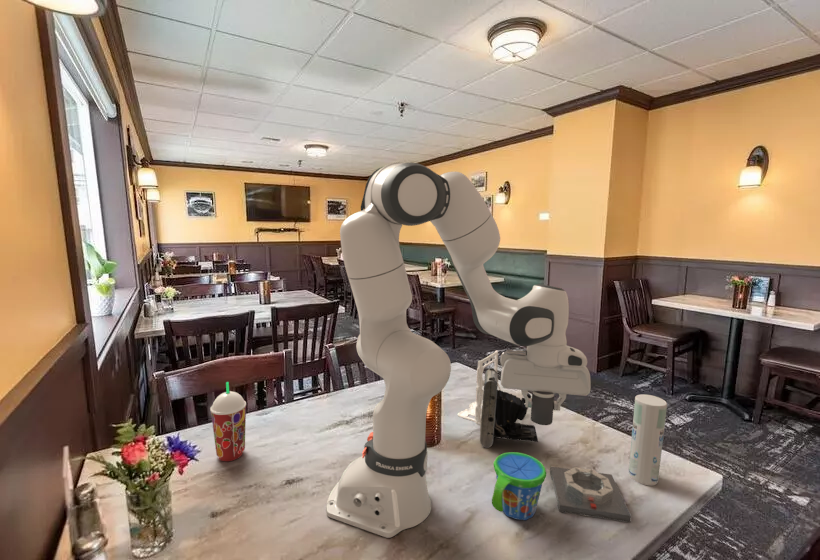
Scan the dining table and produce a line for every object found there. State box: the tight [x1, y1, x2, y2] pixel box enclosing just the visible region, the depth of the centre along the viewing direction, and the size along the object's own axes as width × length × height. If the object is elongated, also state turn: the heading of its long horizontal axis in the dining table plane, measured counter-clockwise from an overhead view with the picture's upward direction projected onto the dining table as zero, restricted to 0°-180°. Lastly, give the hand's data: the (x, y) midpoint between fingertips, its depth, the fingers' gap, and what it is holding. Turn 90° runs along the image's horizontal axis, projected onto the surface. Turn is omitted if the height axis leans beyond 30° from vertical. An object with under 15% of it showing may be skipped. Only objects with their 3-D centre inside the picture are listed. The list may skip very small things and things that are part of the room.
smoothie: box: [209, 381, 247, 462], centre depth 102 cm, size 8×8×20 cm
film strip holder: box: [457, 350, 502, 426], centre depth 126 cm, size 14×14×20 cm
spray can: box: [628, 393, 668, 486], centre depth 95 cm, size 6×6×20 cm
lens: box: [530, 391, 556, 426], centre depth 95 cm, size 5×5×8 cm
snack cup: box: [491, 451, 547, 521], centre depth 84 cm, size 16×10×10 cm
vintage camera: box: [479, 367, 539, 449], centre depth 110 cm, size 10×16×20 cm, turn 79°
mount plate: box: [549, 466, 632, 523], centre depth 90 cm, size 14×14×4 cm
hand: (542, 408), depth 95 cm, fingers closed on lens, 5 cm apart
